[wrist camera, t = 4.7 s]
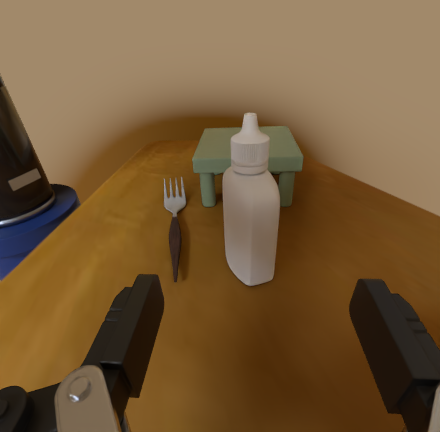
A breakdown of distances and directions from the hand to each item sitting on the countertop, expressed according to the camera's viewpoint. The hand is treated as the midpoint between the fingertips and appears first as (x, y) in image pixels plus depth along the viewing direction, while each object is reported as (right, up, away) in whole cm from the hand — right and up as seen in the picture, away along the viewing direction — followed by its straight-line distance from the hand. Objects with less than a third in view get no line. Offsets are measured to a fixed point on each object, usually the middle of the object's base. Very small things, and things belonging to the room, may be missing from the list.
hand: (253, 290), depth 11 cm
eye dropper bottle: (+1, -1, +12) cm, 12 cm away
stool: (+2, +7, +23) cm, 24 cm away
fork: (-6, +2, +16) cm, 17 cm away
